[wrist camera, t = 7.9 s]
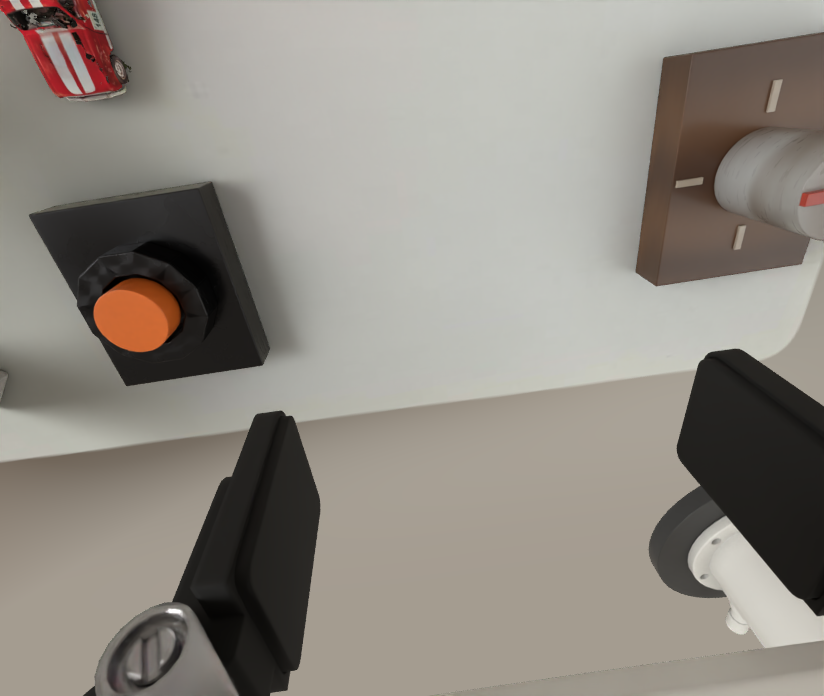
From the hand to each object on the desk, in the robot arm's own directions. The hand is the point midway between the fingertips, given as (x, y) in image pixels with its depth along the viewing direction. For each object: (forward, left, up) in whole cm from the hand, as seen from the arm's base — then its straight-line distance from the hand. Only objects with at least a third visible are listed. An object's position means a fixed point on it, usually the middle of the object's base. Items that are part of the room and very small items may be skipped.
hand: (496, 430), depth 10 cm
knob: (+1, -18, -16) cm, 24 cm away
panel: (+1, -18, -19) cm, 26 cm away
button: (-1, +16, -15) cm, 22 cm away
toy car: (+13, +15, -19) cm, 27 cm away
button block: (-1, +16, -19) cm, 25 cm away
